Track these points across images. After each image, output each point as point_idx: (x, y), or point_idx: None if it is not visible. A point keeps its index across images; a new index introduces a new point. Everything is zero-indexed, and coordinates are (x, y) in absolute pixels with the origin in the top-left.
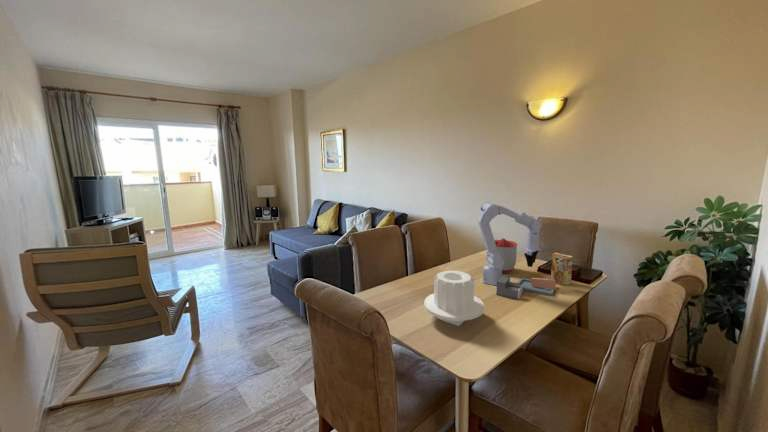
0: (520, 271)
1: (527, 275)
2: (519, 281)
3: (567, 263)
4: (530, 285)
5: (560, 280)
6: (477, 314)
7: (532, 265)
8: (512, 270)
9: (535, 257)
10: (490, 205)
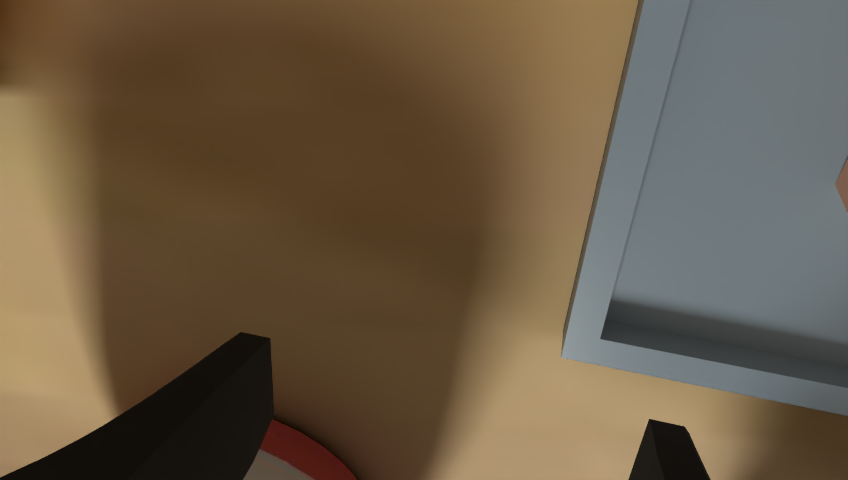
0: (164, 311)
1: (275, 228)
2: (739, 382)
3: None
4: (806, 206)
5: None
6: None
7: (674, 447)
8: None
9: (175, 444)
10: None
